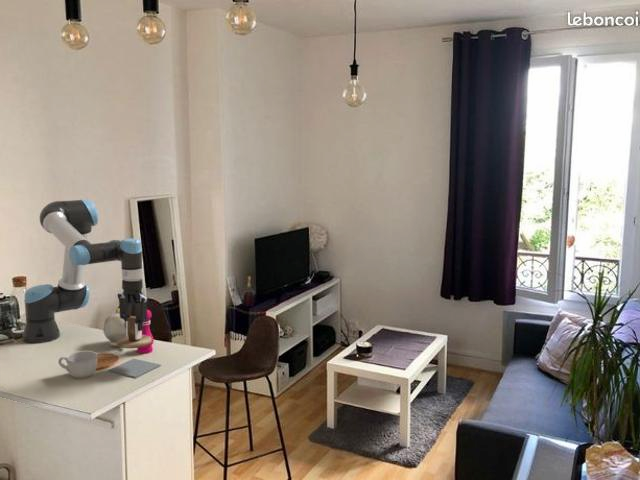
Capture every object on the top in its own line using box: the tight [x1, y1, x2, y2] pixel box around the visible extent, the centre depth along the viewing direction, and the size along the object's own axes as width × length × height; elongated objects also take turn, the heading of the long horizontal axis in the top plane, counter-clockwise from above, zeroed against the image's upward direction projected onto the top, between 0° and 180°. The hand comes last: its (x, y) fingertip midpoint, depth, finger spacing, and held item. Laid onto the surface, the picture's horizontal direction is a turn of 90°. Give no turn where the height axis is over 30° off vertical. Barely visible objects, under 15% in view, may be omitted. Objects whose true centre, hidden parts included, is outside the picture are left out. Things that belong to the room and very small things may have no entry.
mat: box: [107, 358, 162, 379], centre depth 231 cm, size 14×14×1 cm
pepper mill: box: [136, 309, 154, 355], centre depth 249 cm, size 7×7×20 cm
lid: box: [117, 315, 152, 349], centre depth 228 cm, size 13×13×10 cm
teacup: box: [57, 350, 98, 379], centre depth 223 cm, size 14×11×8 cm
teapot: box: [102, 307, 126, 348], centre depth 256 cm, size 18×14×16 cm
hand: (134, 337), depth 229 cm, fingers closed on lid, 4 cm apart
